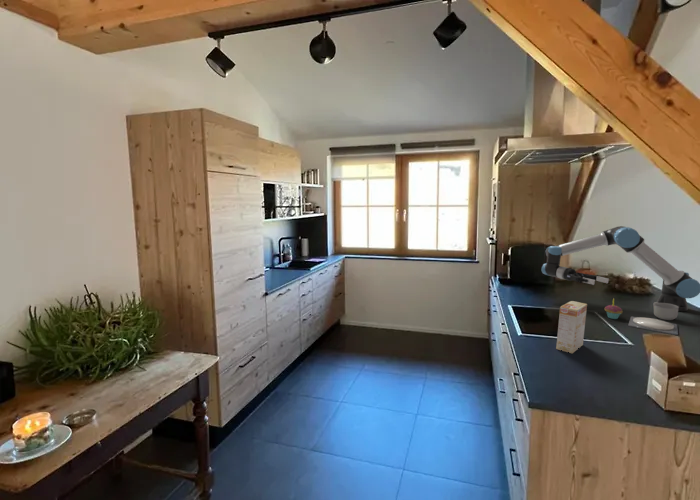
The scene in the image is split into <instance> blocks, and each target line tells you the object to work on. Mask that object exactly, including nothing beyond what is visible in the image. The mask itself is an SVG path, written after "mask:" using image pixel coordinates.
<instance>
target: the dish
mask: <svg viewBox="0 0 700 500" xmlns="http://www.w3.org/2000/svg"><path fill="white" fill-rule="evenodd" d="M627 325H628V327H630V328H637V329H642V330H646V331H647V330H648V331H652V332H658V333H663V334H668V335H672V336H673V335H674V336H678V335H679V333H678V324H677V323H671V322H668V321H666V320H663V319H657V318H650V317H640V316H639V317H638V316H630V319H629V321H628V324H627Z"/></svg>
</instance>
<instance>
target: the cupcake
mask: <svg viewBox="0 0 700 500" xmlns="http://www.w3.org/2000/svg"><path fill="white" fill-rule="evenodd" d="M604 311H605V312H606V316H607V318H609V319H612V320H618V319H619V317H620V315H622V314H623V308H621V307H620V306H618V305H615V298H614V297H613V299H612V304H610V305H606V306H605V307H604Z"/></svg>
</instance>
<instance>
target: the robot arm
mask: <svg viewBox="0 0 700 500" xmlns="http://www.w3.org/2000/svg"><path fill="white" fill-rule="evenodd" d="M613 245H614V246H615V245H617V246H619V247H620V248H621V249H622V250H623V251H624V252H626V253H629V254H632V255H634V256H635V258H637V259H638V260H640V261H641V262H642V263H643V264H644V265H645V266H647V267H648V268H649V269H650V270H651V271H653V272H654V273H655V274H656V275H658V276H659V277H660V278H662V285H661V293H660V294H659V297H658V298H657V301H656V302H658V303H668V304H673V305H676V306H678V307H679V308H678V312H687V311H688V309H689V306H688V301H687V299H692V298H695V297H697V296H699V295H700V282H699V281H698V280H696V279H695V278H692V277H691V276H690V274H689V272H685V271H684V270H678V269H677V268H675V267H674V266H673V265H672V264H671V263H670V262H668V261H667V260H666V259H664V257H662V256H661V255H660V254H659V253H657V252H656V251H655V250H654V249H653V248H652V247H650V246H649V245H648V244H646V243H645V238H643V236H642V235H640V234H639V232H638V231H637V230H636V229H634V228H632V227H629V226H622V225H621V226H616V227H613V228H610V229H607V230H603V231H601V232H600V233H599V234H594V235H591V236H586V237H584V238H580V239H576V240H573V241H569V242H565V243H561V244H558V245H550V246H548V247H546V248H545V249H546V250H545V256H546V257H547V259H546V263H543V264H542V266H541V273H542V274H544V275H545V276H550V277H554V278H557V279H560V280H565V281H570V282H572V281H574V282H576V283H580V284H582V283H583V284H584V283H585V284H589V285H592V286H594V285H595V283H596V282H600V283H605V284H609V280H610V278H607V277H603V276H599V275H598V274H596V275H594V274H589V273H583V272H576V269H574V268H569V267H566V266H561V258H562V257H563V256H566V255H567V256H568V255H570V254H574V253H578V252H582V251H585V250H590V249H594V248H597V247H598V248H599V247H602V246H606V247H608V246H613Z"/></svg>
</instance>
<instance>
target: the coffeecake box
mask: <svg viewBox="0 0 700 500" xmlns="http://www.w3.org/2000/svg"><path fill="white" fill-rule="evenodd" d="M587 307H588V304H587V303H585V302H579V301H576V300H575V301H574V300H570V301H568V302H566V303H565V304H562V305H561V306H560V307H559V314H558V315H559V317H558V325H557V326H558V327H557V335H556V336H557V337H556V347H555V349H556V350H557V351H558V350H559V351H561V350H562V351H561V352H566V353H568V352H569V354H574V353H575V352H576V351H578V350H579V349H580V348H581V347H582V346H583V345H584V337H585V327H586V319H587V309H588V308H587ZM578 348H579V349H578Z"/></svg>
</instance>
